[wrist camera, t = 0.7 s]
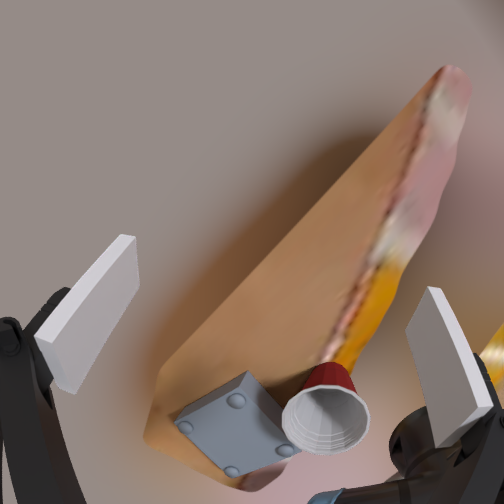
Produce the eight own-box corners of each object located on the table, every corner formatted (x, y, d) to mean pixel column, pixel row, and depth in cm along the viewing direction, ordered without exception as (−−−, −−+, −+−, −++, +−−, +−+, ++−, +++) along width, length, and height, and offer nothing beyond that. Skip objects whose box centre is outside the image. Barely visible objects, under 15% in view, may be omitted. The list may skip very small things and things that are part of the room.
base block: (304, 432, 48) (300, 454, 42) (239, 461, 52) (230, 481, 46) (247, 370, 48) (237, 389, 42) (185, 407, 52) (171, 425, 47)
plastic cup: (341, 331, 44) (343, 372, 32) (376, 384, 44) (385, 433, 32) (279, 366, 47) (262, 412, 35) (316, 415, 47) (309, 465, 35)
